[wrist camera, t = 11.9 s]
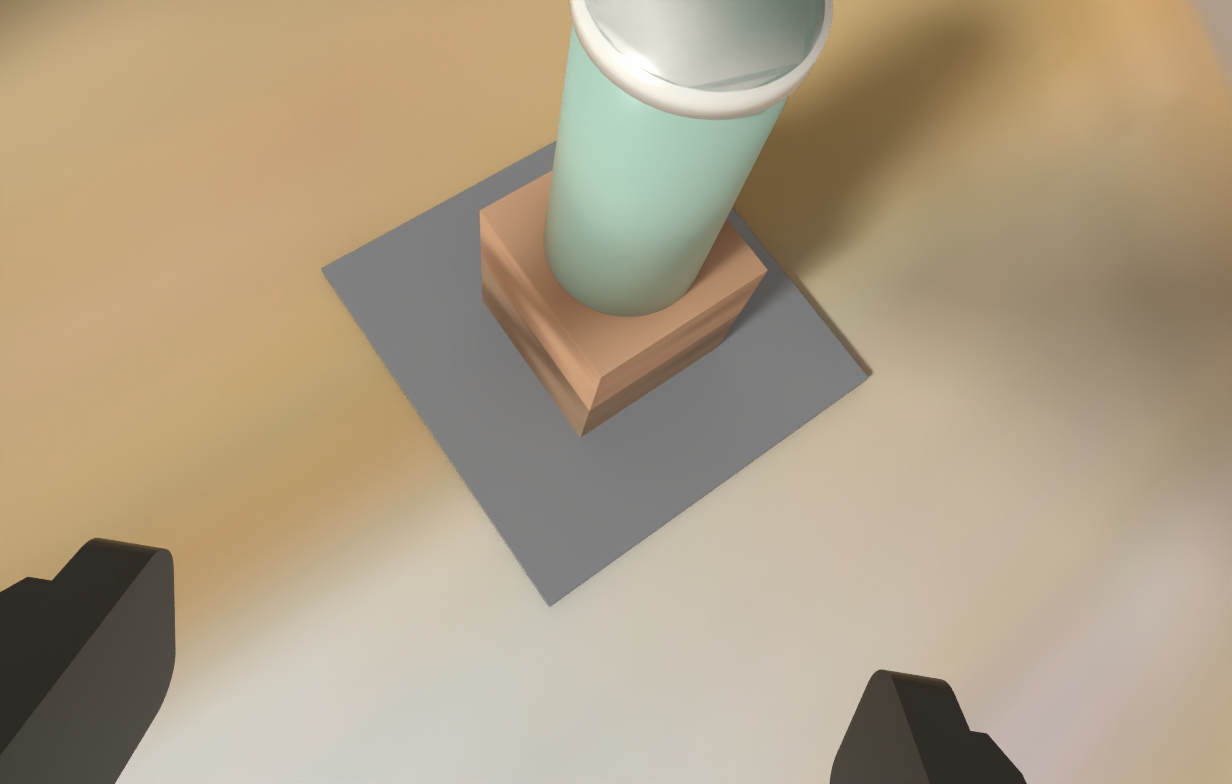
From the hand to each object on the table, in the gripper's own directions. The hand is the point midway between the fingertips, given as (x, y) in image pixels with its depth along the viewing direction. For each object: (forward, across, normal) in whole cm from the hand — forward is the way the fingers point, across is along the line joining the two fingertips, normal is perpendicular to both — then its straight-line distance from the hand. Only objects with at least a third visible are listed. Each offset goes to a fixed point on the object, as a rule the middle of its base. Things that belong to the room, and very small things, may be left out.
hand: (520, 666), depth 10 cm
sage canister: (+17, -1, 0) cm, 17 cm away
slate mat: (+22, -1, +5) cm, 23 cm away
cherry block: (+20, -1, +2) cm, 20 cm away
